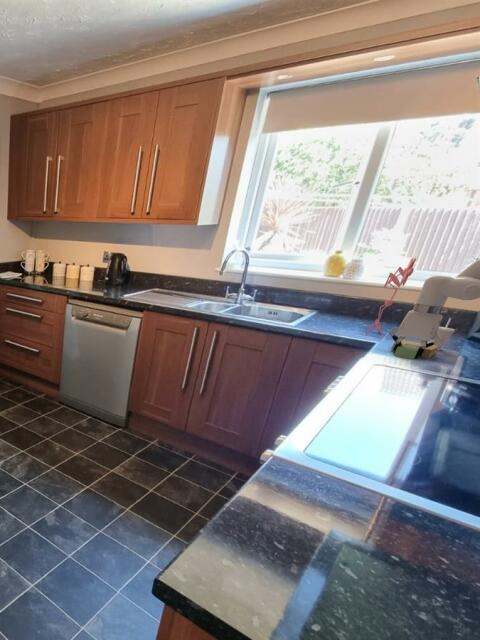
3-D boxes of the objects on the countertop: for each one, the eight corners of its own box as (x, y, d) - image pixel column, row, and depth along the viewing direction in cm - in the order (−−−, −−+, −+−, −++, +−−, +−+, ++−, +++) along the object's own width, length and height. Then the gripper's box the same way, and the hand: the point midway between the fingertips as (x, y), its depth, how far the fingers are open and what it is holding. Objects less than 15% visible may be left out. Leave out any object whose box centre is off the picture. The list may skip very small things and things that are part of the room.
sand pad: (434, 354, 170) (438, 346, 169) (428, 358, 164) (432, 349, 163) (397, 347, 178) (401, 339, 177) (390, 350, 172) (394, 342, 171)
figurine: (361, 336, 195) (393, 257, 182) (364, 327, 212) (393, 255, 199) (407, 343, 185) (444, 261, 172) (406, 334, 203) (439, 258, 190)
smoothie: (448, 354, 171) (464, 320, 166) (428, 352, 173) (444, 318, 168) (437, 350, 177) (453, 317, 172) (418, 347, 179) (433, 315, 174)
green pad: (419, 355, 167) (423, 347, 166) (412, 359, 162) (416, 351, 160) (400, 352, 171) (404, 343, 170) (393, 355, 166) (397, 347, 164)
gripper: (461, 313, 154) (438, 360, 161) (399, 304, 167) (380, 348, 174) (457, 315, 150) (434, 363, 157) (394, 306, 163) (374, 350, 170)
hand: (406, 354), depth 166 cm, fingers closed on green pad, 5 cm apart
